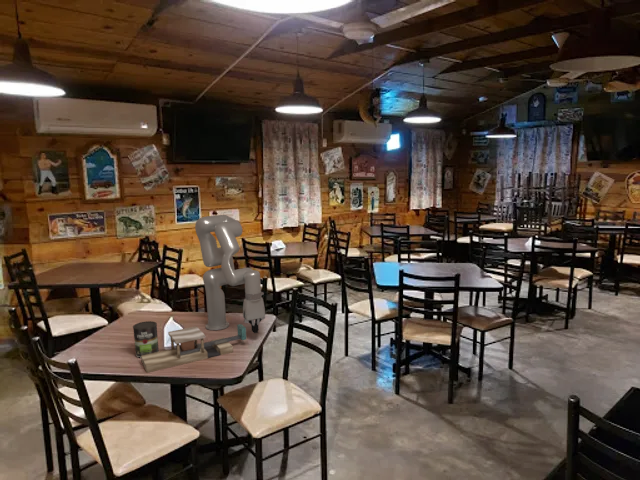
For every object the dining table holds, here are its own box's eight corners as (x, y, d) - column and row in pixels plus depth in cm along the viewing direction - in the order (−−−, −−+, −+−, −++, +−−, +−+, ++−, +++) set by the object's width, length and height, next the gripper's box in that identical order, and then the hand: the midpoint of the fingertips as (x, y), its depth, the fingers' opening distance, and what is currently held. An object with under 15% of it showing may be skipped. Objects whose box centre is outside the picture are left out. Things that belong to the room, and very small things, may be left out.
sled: (175, 349, 206) (174, 336, 205) (240, 334, 222) (240, 323, 221) (180, 355, 199) (179, 342, 198) (247, 340, 214) (246, 328, 213)
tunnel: (141, 361, 202) (139, 337, 200) (223, 343, 221) (222, 321, 219) (147, 373, 190) (144, 348, 188) (233, 352, 209) (232, 329, 207)
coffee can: (158, 356, 207) (155, 327, 205) (134, 359, 204) (131, 329, 202) (160, 348, 217) (157, 320, 214) (137, 351, 214) (134, 322, 212)
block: (180, 350, 205) (180, 339, 205) (191, 347, 208) (191, 337, 207) (183, 353, 201) (182, 343, 200) (194, 351, 204) (194, 340, 203)
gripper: (264, 291, 225) (266, 327, 228) (235, 296, 217) (238, 333, 220) (270, 295, 218) (272, 331, 221) (241, 300, 211) (243, 338, 214)
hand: (255, 332), depth 221 cm, fingers closed
